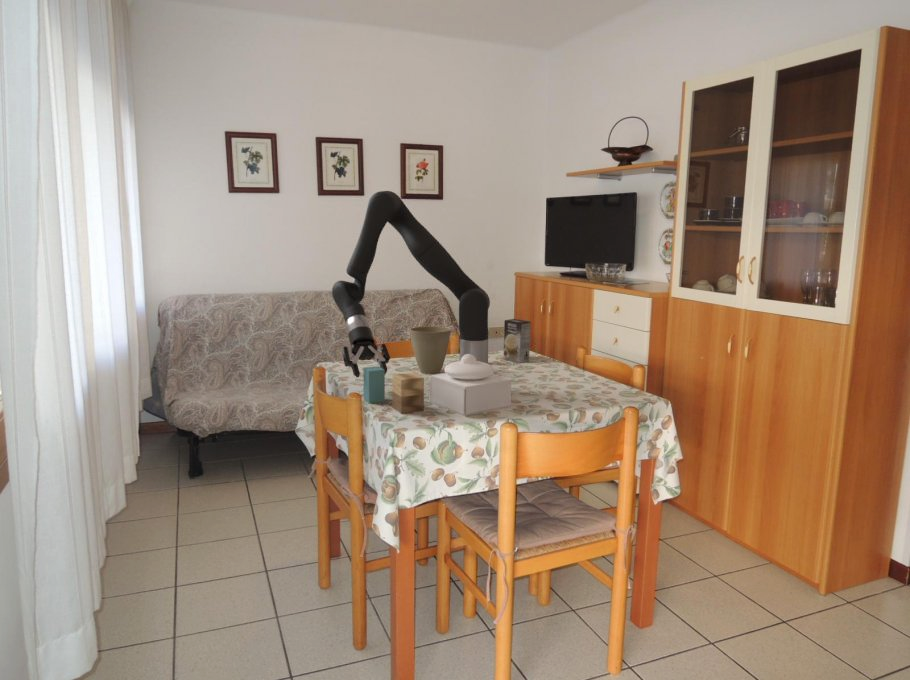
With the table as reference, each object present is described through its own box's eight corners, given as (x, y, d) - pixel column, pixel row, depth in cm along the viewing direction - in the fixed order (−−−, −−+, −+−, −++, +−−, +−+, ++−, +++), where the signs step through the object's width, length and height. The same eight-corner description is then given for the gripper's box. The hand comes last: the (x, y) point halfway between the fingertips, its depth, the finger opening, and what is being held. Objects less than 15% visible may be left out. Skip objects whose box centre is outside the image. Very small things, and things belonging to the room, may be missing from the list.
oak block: (414, 388, 201) (414, 372, 200) (423, 394, 194) (423, 377, 194) (392, 391, 198) (392, 374, 197) (401, 396, 191) (401, 379, 190)
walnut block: (414, 405, 201) (414, 388, 201) (423, 411, 195) (423, 394, 194) (392, 407, 198) (392, 391, 198) (401, 413, 192) (401, 396, 191)
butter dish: (474, 395, 214) (475, 346, 212) (511, 407, 200) (513, 355, 197) (429, 403, 204) (429, 351, 201) (464, 417, 190) (465, 362, 187)
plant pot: (452, 368, 253) (452, 326, 250) (448, 377, 238) (448, 332, 235) (413, 366, 254) (413, 325, 251) (406, 375, 239) (406, 331, 237)
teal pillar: (379, 397, 209) (378, 366, 207) (384, 401, 204) (384, 369, 203) (363, 399, 207) (363, 367, 205) (369, 403, 202) (368, 371, 201)
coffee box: (502, 359, 270) (503, 319, 267) (513, 357, 274) (514, 318, 271) (519, 363, 263) (520, 322, 260) (530, 360, 267) (531, 321, 265)
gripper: (340, 326, 208) (351, 370, 200) (383, 324, 215) (396, 366, 206) (335, 340, 214) (346, 383, 206) (377, 337, 220) (390, 379, 212)
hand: (371, 374), depth 206 cm, fingers open, 8 cm apart
